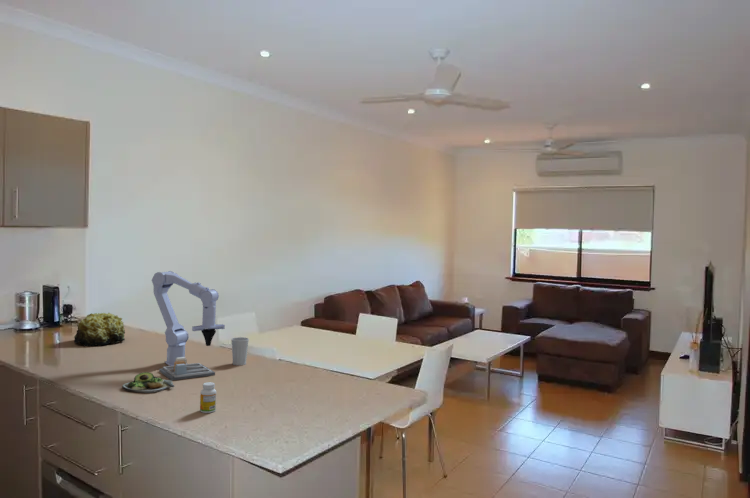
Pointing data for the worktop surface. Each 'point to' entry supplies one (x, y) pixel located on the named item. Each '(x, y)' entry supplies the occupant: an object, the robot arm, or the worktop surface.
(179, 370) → the slider blue
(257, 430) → the worktop surface
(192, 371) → the panel
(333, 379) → the worktop surface
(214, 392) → the supplement bottle
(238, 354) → the cup
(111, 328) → the mossy green rock
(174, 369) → the slider orange
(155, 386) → the salad plate
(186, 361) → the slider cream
